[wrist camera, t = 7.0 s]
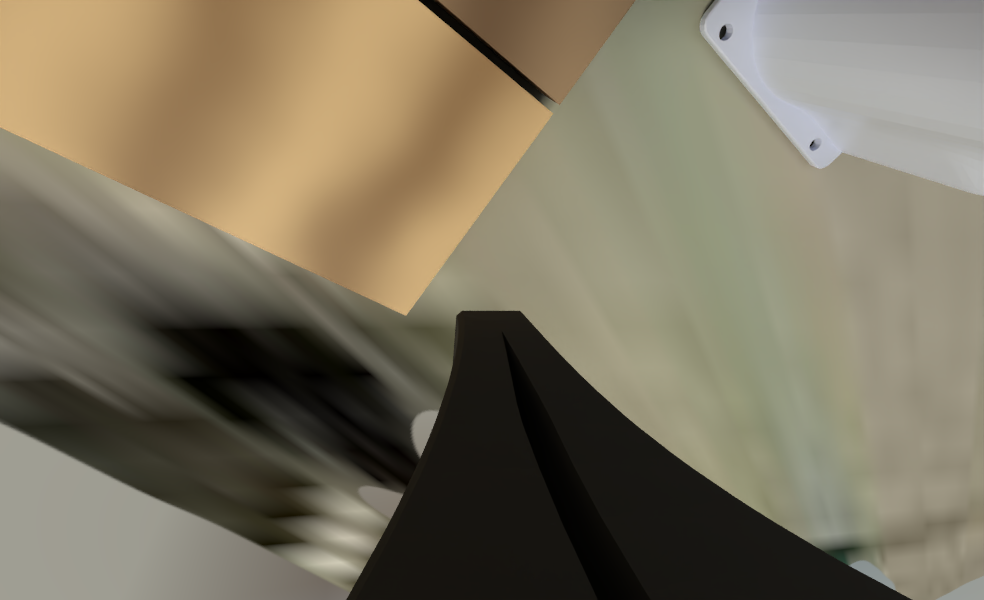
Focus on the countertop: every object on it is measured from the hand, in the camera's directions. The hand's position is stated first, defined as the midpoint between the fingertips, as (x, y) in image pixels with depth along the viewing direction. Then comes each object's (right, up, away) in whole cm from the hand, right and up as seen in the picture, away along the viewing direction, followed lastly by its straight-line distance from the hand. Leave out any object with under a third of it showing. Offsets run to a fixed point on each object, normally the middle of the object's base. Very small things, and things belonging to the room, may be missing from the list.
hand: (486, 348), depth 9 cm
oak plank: (-8, +9, +5) cm, 13 cm away
